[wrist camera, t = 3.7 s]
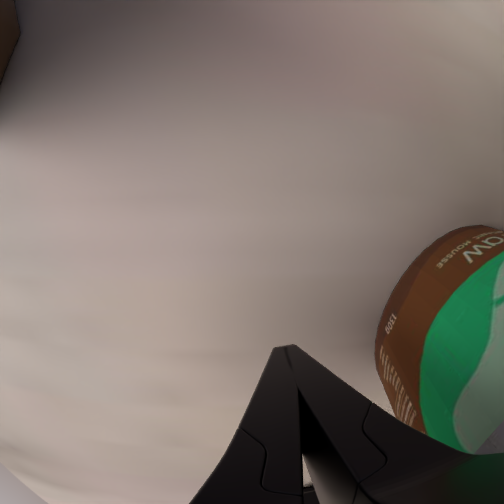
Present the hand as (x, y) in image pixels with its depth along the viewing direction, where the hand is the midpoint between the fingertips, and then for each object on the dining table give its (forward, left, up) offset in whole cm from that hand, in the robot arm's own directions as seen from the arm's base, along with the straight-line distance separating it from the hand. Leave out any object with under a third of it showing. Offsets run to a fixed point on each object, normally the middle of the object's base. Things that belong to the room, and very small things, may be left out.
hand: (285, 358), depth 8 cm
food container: (0, -8, -4) cm, 9 cm away
